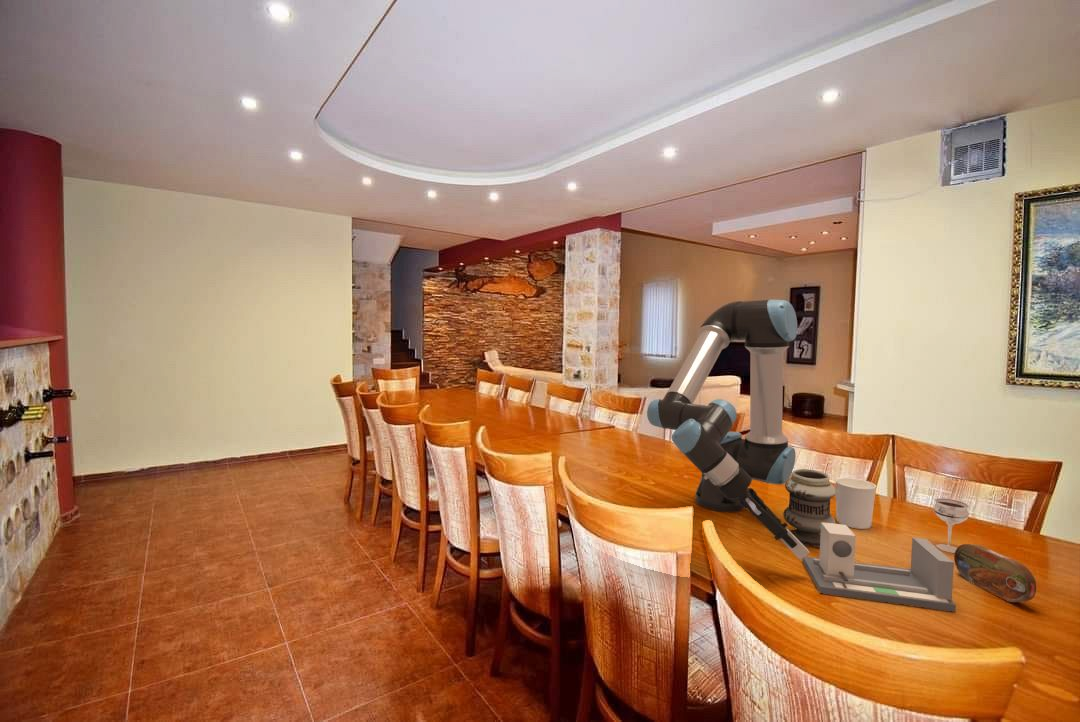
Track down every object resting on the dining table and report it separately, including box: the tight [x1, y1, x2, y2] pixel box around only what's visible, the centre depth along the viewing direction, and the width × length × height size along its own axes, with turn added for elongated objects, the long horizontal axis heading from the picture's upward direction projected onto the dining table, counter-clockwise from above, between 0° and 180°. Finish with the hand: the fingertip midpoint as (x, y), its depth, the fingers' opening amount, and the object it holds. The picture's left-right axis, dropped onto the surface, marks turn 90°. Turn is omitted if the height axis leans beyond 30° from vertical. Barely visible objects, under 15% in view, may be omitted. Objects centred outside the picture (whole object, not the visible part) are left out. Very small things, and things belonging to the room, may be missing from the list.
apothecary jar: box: [782, 468, 836, 548], centre depth 125 cm, size 12×12×18 cm
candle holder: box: [834, 477, 877, 530], centre depth 135 cm, size 10×10×12 cm
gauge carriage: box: [819, 522, 857, 581], centre depth 103 cm, size 5×9×10 cm, turn 164°
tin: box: [953, 543, 1037, 603], centre depth 101 cm, size 15×3×8 cm, turn 5°
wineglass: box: [933, 497, 970, 554], centre depth 120 cm, size 7×7×12 cm
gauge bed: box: [801, 537, 957, 613], centre depth 103 cm, size 24×14×10 cm, turn 74°
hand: (804, 554), depth 106 cm, fingers closed
